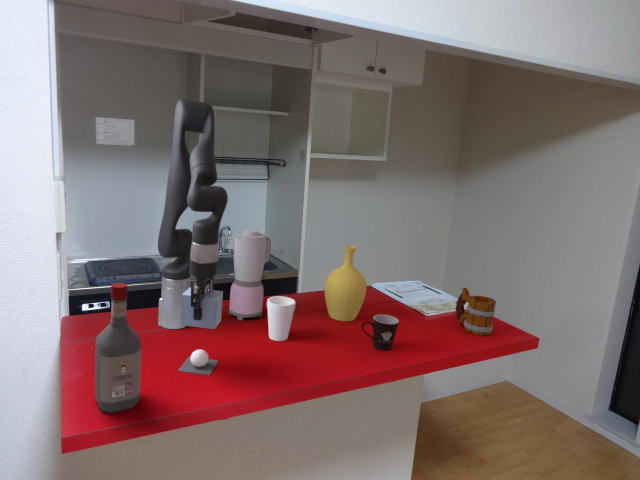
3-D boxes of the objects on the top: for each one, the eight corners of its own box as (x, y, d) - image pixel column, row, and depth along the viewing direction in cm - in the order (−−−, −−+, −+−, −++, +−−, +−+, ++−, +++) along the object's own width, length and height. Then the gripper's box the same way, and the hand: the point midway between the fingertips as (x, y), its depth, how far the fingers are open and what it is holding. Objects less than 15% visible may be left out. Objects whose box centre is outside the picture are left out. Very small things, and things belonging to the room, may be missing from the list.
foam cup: (287, 344, 164) (291, 307, 161) (260, 340, 166) (263, 303, 163) (294, 334, 173) (298, 298, 170) (269, 329, 175) (272, 294, 172)
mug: (483, 338, 187) (489, 300, 183) (446, 323, 198) (452, 287, 195) (497, 333, 194) (504, 296, 191) (461, 318, 206) (467, 284, 202)
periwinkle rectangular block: (180, 324, 138) (181, 294, 136) (188, 316, 145) (189, 287, 143) (214, 329, 138) (216, 298, 136) (221, 320, 144) (223, 291, 142)
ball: (189, 352, 140) (206, 355, 140) (194, 345, 145) (211, 348, 145) (187, 368, 141) (204, 371, 141) (192, 361, 146) (209, 364, 146)
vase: (369, 316, 197) (378, 248, 191) (350, 327, 184) (358, 254, 178) (335, 305, 206) (342, 239, 200) (313, 315, 192) (320, 245, 186)
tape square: (178, 371, 140) (178, 370, 140) (188, 357, 149) (188, 356, 149) (209, 375, 139) (209, 374, 139) (218, 361, 148) (218, 360, 148)
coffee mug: (397, 344, 173) (400, 317, 171) (392, 354, 165) (396, 326, 163) (364, 337, 176) (368, 310, 174) (358, 346, 168) (361, 318, 166)
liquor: (142, 406, 121) (145, 289, 115) (102, 416, 116) (102, 293, 110) (131, 389, 128) (134, 277, 122) (93, 397, 123) (93, 281, 117)
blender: (241, 323, 178) (247, 235, 171) (221, 312, 186) (227, 228, 179) (275, 314, 189) (282, 232, 182) (255, 304, 197) (261, 225, 191)
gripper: (199, 250, 144) (196, 304, 148) (182, 263, 130) (179, 322, 134) (224, 253, 144) (221, 307, 148) (210, 266, 130) (207, 326, 134)
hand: (201, 314), depth 141 cm, fingers closed on periwinkle rectangular block, 6 cm apart
